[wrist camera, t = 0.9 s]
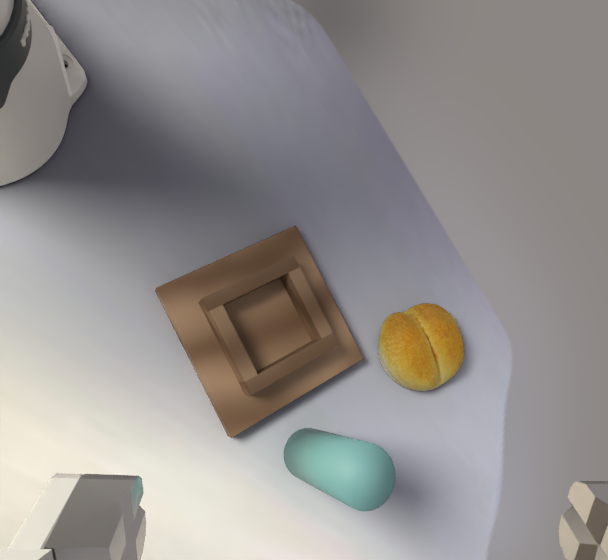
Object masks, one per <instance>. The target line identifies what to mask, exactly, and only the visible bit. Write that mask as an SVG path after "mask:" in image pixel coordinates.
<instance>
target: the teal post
mask: <svg viewBox="0 0 608 560" xmlns="http://www.w3.org/2000/svg"><path fill="white" fill-rule="evenodd" d="M284 461H285V464H286V467H287V468H288V470H289V471H290V473H292V474H293V475H294V476H295V477H297V478H299V479H301V480H303V481H305V482H306V483H308V484H310V485H312V486H314V487H316V488H317V489H319V490H321V491H323V492H325V493H327V494H328V495H330V496H332V497H334V498H336V499H338V500H339V501H341V502H343V503H345V504H347V505H348V506H350V507H352V508H354V509H356V510H360V511H371V510H374V509H376V508H378V507H380V506H381V505H382V504H384V503H385V502H386V500H387V499H388V498H389V496H390V494H391V493H392V490H393V487H394V483H395V469H394V465H393V462H392V460H391V458H390V456H389V455H388V453H387V452H386V451H385V450H384V449H383V448H381V447H380V446H378V445H376V444H373V443H368V442H364V441H360V440H356V439H352V438H348V437H344V436H340V435H336V434H332V433H328V432H324V431H320V430H316V429H312V428H304V429H300V430H298V431H296V432H295V433H294V434H292V435H291V437H290V438H289V439H288V441H287V443H286V445H285V449H284Z"/></svg>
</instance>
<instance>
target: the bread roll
mask: <svg viewBox="0 0 608 560" xmlns="http://www.w3.org/2000/svg"><path fill="white" fill-rule="evenodd" d="M378 356H379V360H380V362H381V365H382V367H383V368H384V370H385V372H386V373H387V374H388V375H389V376H390V377H391V378H392V379H393V380H394V381H395V382H397V383H398V384H400V385H401V386H403V387H405V388H408V389H412V390H417V391H428V390H432V389H434V388H437V387H438V386H440V385H441V384H443V383H445V382H447V381H448V380H450V379H451V378H452V377H453V376H454V375H455V374H456V372H457V371H458V370H459V369H460V367H461V364H462V362H463V359H464V343H463V337H462V335H461V332H460V329H459V327H458V325H457V322H456V320H455V318H454V317H453V315H452V314H451V313H448V312H447V311H446V310H445V309H443V308H442V307H440V306H438V305H435V304H418V305H416V306H413V307H412V308H410V309H408V310H407V311H405V312H403V313H400V312H398V313H393V314H392V315H390V316H389V317H387V318H386V320H385V321H384V323H383V325H382V328H381V332H380V337H379V344H378Z"/></svg>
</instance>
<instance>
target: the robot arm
mask: <svg viewBox="0 0 608 560" xmlns="http://www.w3.org/2000/svg"><path fill="white" fill-rule="evenodd" d="M64 64H65V65H67V66H68V67H67V68H65V65H64ZM86 85H87V78H86V74H85V72H84V70H83V68H82V67H81V65H80V64H79V63H78V61H77V60H76V59H75V58H74V56H73V55H72V54H71V52H70V51H69V50H68V48H67V47H66V46H65V45H64V43H63V42H62V41H61V39H60V38H59V37H58V35H57V34H56V33H55V31H54V29H53V27H52V26H50V25H49V24H48V22H47V21H46V20H45V19H44V17H43V16H42V15H41V13H40V12H39V11H38V9H37V8H36V7H35V6H34V4H33V3H32V2H31V0H0V186H1V185H5V184H9V183H12V182H14V181H17V180H19V179H22V178H24V177H26V176H27V175H29V174H31V173H32V172H34V171H36V170H37V169H38V168H40V167H41V166H42V165H43V164H44V163H45V162H46V161H47V160H48V159H49V158H50V157H51V156H52V155H53V154H54V152H55V151H56V150H57V148H58V146H59V145H60V143H61V141H62V139H63V136H64V133H65V130H66V126H67V121H68V116H69V112H70V109H71V107H72V105H73V104H74V103H75V102H76V100H77V99H78V98H79V97H80V95H81V94H82V93H83V91H84V90H85V88H86ZM142 495H143V485H142V478H141V477H139V476H128V475H101V474H84V475H81V474H59V473H57V474H55V475H54V476H53V477H51V478H50V479H49V481H48V482H47V484H46V486H45V487H44V489H43V491H42V492H41V494H40V496H39V497H38V499H37V501H36V502H35V504H34V506H33V507H32V509H31V511H30V513H29V514H28V516H27V518H26V519H25V521H24V523H23V524H22V526H21V528H20V529H19V531H18V533H17V534H16V536H15V538H14V539H13V541H12V543H11V544H10V546H9V548H8V549H0V560H141V556H142V553H143V547H144V541H145V533H146V517H145V511H144V510H143V509H142V508H141V507H140V506H139V504H140V501H141V498H142ZM568 499H569V501H570V502H571V504H572V507H571V508H570V509H569V510H567V511H566V512H565V513H564V514H563V515H562V517H561V521H560V525H559V538H560V546H561V548H562V551H563V554H564V557H565V559H566V560H608V481H576V482H575V483H574V484H573V485H572V486H571V488H570V491H569V494H568Z"/></svg>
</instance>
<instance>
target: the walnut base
mask: <svg viewBox="0 0 608 560" xmlns="http://www.w3.org/2000/svg"><path fill="white" fill-rule="evenodd" d="M155 291H156V293H157V295H158V297H159V299H160V301H161V303H162V305H163V307H164V309H165V311H166V313H167V315H168V317H169V319H170V321H171V323H172V325H173V327H174V329H175V331H176V333H177V335H178V337H179V339H180V341H181V343H182V345H183V347H184V349H185V351H186V353H187V355H188V357H189V359H190V361H191V363H192V365H193V367H194V369H195V371H196V373H197V375H198V377H199V379H200V381H201V383H202V385H203V387H204V389H205V391H206V393H207V395H208V397H209V399H210V401H211V403H212V405H213V407H214V409H215V411H216V413H217V415H218V417H219V419H220V421H221V423H222V425H223V427H224V429H225V431H226V433H227V435H228V436H229V437H231V438H232V437H234V436H236V435H237V434H239V433H241V432H242V431H244V430H246V429H247V428H249V427H251V426H252V425H254V424H256V423H257V422H259V421H261V420H262V419H264V418H265V417H267V416H269V415H270V414H272V413H274V412H275V411H277V410H279V409H280V408H282V407H284V406H285V405H287V404H289V403H290V402H292V401H294V400H295V399H297V398H299V397H300V396H302V395H304V394H305V393H307V392H309V391H310V390H312V389H314V388H315V387H317V386H319V385H320V384H322V383H324V382H325V381H327V380H329V379H330V378H332V377H334V376H335V375H337V374H339V373H340V372H342V371H344V370H345V369H347V368H349V367H350V366H352V365H353V364H355V363H357V362H358V361H360V360H362V359H363V357H362V355H361V353H360V351H359V349H358V347H357V345H356V343H355V341H354V339H353V337H352V335H351V333H350V331H349V329H348V327H347V325H346V323H345V321H344V319H343V317H342V315H341V313H340V311H339V309H338V307H337V305H336V304H335V302H334V300H333V298H332V296H331V294H330V292H329V290H328V288H327V286H326V284H325V282H324V280H323V278H322V276H321V274H320V272H319V270H318V268H317V266H316V264H315V262H314V260H313V258H312V256H311V254H310V252H309V250H308V248H307V246H306V245H305V243H304V241H303V239H302V237H301V235H300V233H299V231H298V229H297V227H296V226H294V227H291V228H289V229H287V230H285V231H282V232H280V233H278V234H276V235H273V236H271V237H269V238H267V239H265V240H262V241H260V242H258V243H256V244H253V245H251V246H249V247H247V248H244V249H242V250H240V251H238V252H235V253H233V254H231V255H229V256H227V257H224V258H222V259H220V260H218V261H215V262H213V263H211V264H209V265H206V266H204V267H202V268H200V269H197V270H195V271H193V272H191V273H189V274H186V275H184V276H182V277H180V278H177V279H175V280H173V281H171V282H168V283H166V284H164V285H162V286H159V287H157V288H156V290H155Z"/></svg>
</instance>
